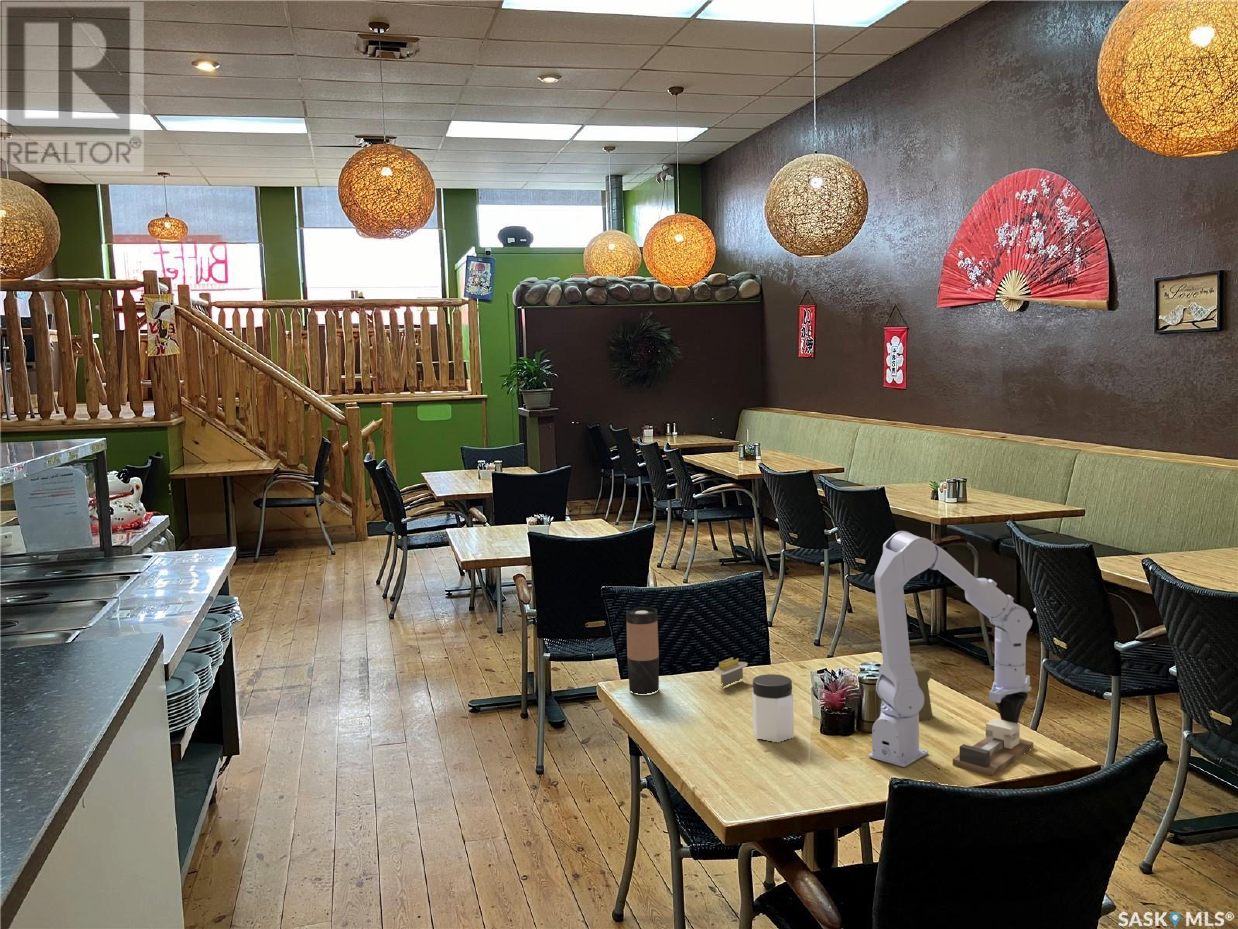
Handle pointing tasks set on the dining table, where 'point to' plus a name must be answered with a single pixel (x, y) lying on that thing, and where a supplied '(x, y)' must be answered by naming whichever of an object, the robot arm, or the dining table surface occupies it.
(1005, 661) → the robot arm
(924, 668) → the cork
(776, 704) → the jar
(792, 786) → the dining table surface
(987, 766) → the rail board
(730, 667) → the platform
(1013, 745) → the slider
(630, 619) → the travel mug
